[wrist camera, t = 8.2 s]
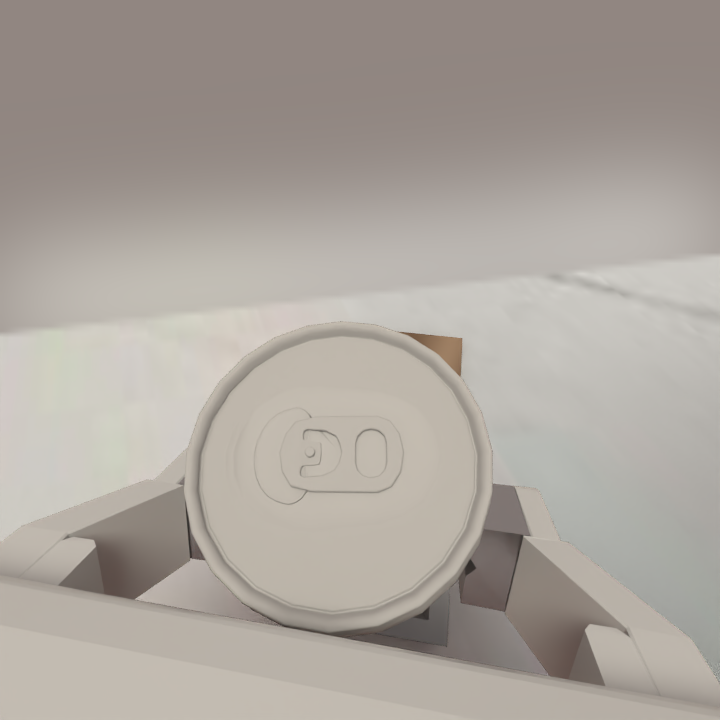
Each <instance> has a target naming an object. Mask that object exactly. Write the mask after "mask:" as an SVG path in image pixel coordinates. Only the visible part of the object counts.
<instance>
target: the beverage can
mask: <svg viewBox="0 0 720 720" xmlns="http://www.w3.org/2000/svg"><path fill="white" fill-rule="evenodd" d="M492 471H493V451H492V447H491V444H490V440H489V436H488V433H487V429H486V425H485V422H484V418H483V414H482V412H481V410H480V408H479V407H478V405H477V403H476V401H475V400H474V398H473V396H472V394H471V393H470V391H469V389H468V387H467V386H466V384H465V382H464V380H463V379H462V378H461V377H460V376H459V375H458V374H457V373H456V372H455V371H454V370H453V369H452V368H451V367H450V366H449V365H448V364H447V363H446V362H445V361H444V360H443V359H442V358H441V357H440V356H439V355H438V354H437V353H435V352H434V351H432V350H431V349H429V348H427V347H426V346H424V345H423V344H421V343H419V342H418V341H416V340H415V339H413V338H411V337H410V336H408V335H405V334H402V333H399V332H396V331H393V330H390V329H387V328H384V327H381V326H378V325H374V324H364V323H354V322H343V321H340V322H332V323H325V324H317V325H309V326H305V327H303V328H300V329H297V330H294V331H291V332H289V333H286V334H283V335H280V336H277V337H275V338H273V339H272V340H270V341H268V342H267V343H265V344H264V345H262V346H261V347H259V348H257V349H256V350H254V351H253V352H251V353H250V354H248V355H246V356H245V357H244V358H243V359H242V360H241V361H240V362H239V363H238V364H237V365H236V366H235V367H234V368H233V369H232V370H231V371H230V372H229V373H228V374H227V375H226V376H225V377H224V378H223V379H222V380H221V381H220V382H219V383H218V385H217V386H216V388H215V389H214V391H213V393H212V394H211V396H210V397H209V399H208V401H207V402H206V404H205V405H204V407H203V409H202V410H201V412H200V414H199V416H198V419H197V422H196V425H195V428H194V431H193V434H192V437H191V440H190V443H189V446H188V449H187V452H186V466H185V480H184V496H185V501H186V507H187V512H188V517H189V522H190V527H191V532H192V535H193V537H194V539H195V541H196V542H197V544H198V546H199V548H200V550H201V552H202V554H203V556H204V558H205V560H206V562H207V564H208V566H209V568H210V570H211V571H212V572H213V573H214V575H215V576H216V577H217V578H218V579H219V580H220V581H221V582H222V583H223V584H224V585H225V586H226V587H227V588H228V589H229V590H230V591H231V592H232V593H233V594H234V595H235V596H236V597H237V598H238V599H239V600H240V601H241V602H242V603H243V604H244V605H246V606H248V607H250V608H251V609H252V610H253V611H255V612H257V613H259V614H261V615H263V616H265V617H267V618H268V619H270V620H272V621H274V622H276V623H278V624H280V625H282V626H284V627H286V628H292V629H297V630H302V631H308V632H313V633H319V634H324V635H330V636H335V637H341V638H343V637H350V636H357V635H364V634H371V633H379V632H382V631H385V630H387V629H389V628H391V627H393V626H395V625H397V624H399V623H402V622H404V621H406V620H408V619H410V618H412V617H414V616H417V615H419V614H421V613H423V612H424V611H425V610H426V609H427V608H428V607H429V606H430V605H432V604H433V603H434V602H435V601H436V600H437V599H438V598H439V597H440V596H441V595H442V594H444V593H445V592H446V591H447V590H448V589H449V588H450V587H451V586H452V585H453V584H455V583H456V581H457V580H458V578H459V577H460V575H461V573H462V572H463V570H464V568H465V567H466V565H467V564H468V562H469V560H470V559H471V557H472V555H473V554H474V552H475V551H476V549H477V547H478V546H479V544H480V540H481V536H482V533H483V529H484V525H485V522H486V518H487V515H488V511H489V507H490V504H491V496H492Z"/></svg>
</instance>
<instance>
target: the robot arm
mask: <svg viewBox="0 0 720 720" xmlns="http://www.w3.org/2000/svg"><path fill="white" fill-rule="evenodd" d="M187 449H188V448H187ZM187 449H186V450H184V451H183V452H182V453H181V454H180V455H179V456H178V457H177V458H176V459H175V460H174V461H173V462H172V463H171V464H170V465H169V466H168V467H167V468H166V469H165V470H164V471H163V472H162V473H161V474H160V475H159V476H158V477H157V478H156V479H155V480H154V481H153V480H144V481H142V482H139V483H136V484H134V485H131V486H128V487H126V488H123V489H120V490H117V491H115V492H112V493H109V494H107V495H104V496H101V497H99V498H96V499H93V500H91V501H88V502H85V503H82V504H80V505H77V506H74V507H72V508H69V509H66V510H64V511H61V512H58V513H55V514H53V515H50V516H47V517H45V518H42V519H39V520H37V521H34V522H31V523H28V524H26V525H23V526H21V527H20V528H19V529H17V530H16V531H15V532H13V533H12V534H11V535H9V536H8V537H7V538H6V539H4V540H3V541H2V542H0V720H720V683H719V682H718V680H717V678H716V677H715V675H714V674H713V672H712V671H711V669H710V667H709V666H708V664H707V663H706V661H705V659H704V658H703V656H702V655H701V653H700V652H699V650H698V648H697V647H696V645H695V644H694V642H693V641H692V639H691V638H689V637H688V636H687V635H686V634H684V633H683V632H682V631H680V630H679V629H678V628H677V627H675V626H674V625H673V624H672V623H670V622H669V621H668V620H666V619H665V618H664V617H663V616H661V615H660V614H659V613H658V612H656V611H655V610H654V609H653V608H651V607H650V606H649V605H647V604H646V603H645V602H644V601H642V600H641V599H640V598H639V597H637V596H636V595H635V594H634V593H632V592H631V591H630V590H628V589H627V588H626V587H625V586H623V585H622V584H621V583H620V582H618V581H617V580H616V579H614V578H613V577H612V576H611V575H609V574H608V573H607V572H606V571H604V570H603V569H602V568H601V567H599V566H598V565H597V564H595V563H594V562H593V561H592V560H590V559H589V558H588V557H587V556H585V555H584V554H583V553H581V552H580V551H579V550H578V549H576V548H575V547H574V546H573V545H571V544H570V543H569V542H563V541H561V540H560V538H559V535H558V533H557V531H556V528H555V526H554V524H553V521H552V519H551V517H550V515H549V512H548V510H547V508H546V505H545V503H544V501H543V498H542V496H541V494H540V491H539V490H538V489H536V488H530V487H520V486H508V485H499V484H492V496H491V504H490V507H489V511H488V515H487V518H486V522H485V525H484V529H483V533H482V536H481V540H480V544H479V546H478V547H477V549H476V551H475V552H474V554H473V555H472V557H471V559H470V560H469V562H468V564H467V565H466V567H465V568H464V570H463V572H462V573H461V575H460V577H459V578H458V579H459V589H460V598H461V603H464V604H469V605H474V606H479V607H484V608H489V609H494V610H499V611H504V612H505V615H506V616H507V617H508V619H509V620H510V622H511V623H512V624H513V626H514V627H515V628H516V630H517V631H518V633H519V634H520V635H521V637H522V638H523V639H524V641H525V642H526V644H527V645H528V646H529V648H530V649H531V651H532V652H533V653H534V655H535V656H536V657H537V659H538V660H539V662H540V663H541V664H542V666H543V667H544V668H545V670H546V671H547V673H548V674H549V675H550V676H546V675H541V674H535V673H530V672H525V671H519V670H514V669H508V668H503V667H498V666H492V665H487V664H481V663H476V662H471V661H465V660H460V659H454V658H449V657H444V656H438V655H433V654H428V653H422V652H417V651H411V650H406V649H401V648H395V647H390V646H384V645H379V644H374V643H368V642H363V641H357V640H352V639H346V638H341V637H335V636H330V635H324V634H319V633H313V632H308V631H302V630H297V629H292V628H286V627H281V626H275V625H270V624H264V623H259V622H253V621H248V620H242V619H237V618H231V617H226V616H220V615H215V614H209V613H204V612H198V611H193V610H187V609H182V608H177V607H171V606H166V605H160V604H155V603H149V602H144V601H139V600H134V599H136V598H137V597H138V596H140V595H141V594H143V593H144V592H146V591H147V590H149V589H150V588H151V587H153V586H154V585H156V584H157V583H159V582H160V581H161V580H163V579H164V578H166V577H167V576H169V575H170V574H172V573H173V572H174V571H176V570H177V569H179V568H180V567H182V566H183V565H185V564H186V563H187V562H189V561H190V558H192V559H199V560H205V558H204V556H203V554H202V552H201V550H200V548H199V546H198V544H197V542H196V541H195V539H194V537H193V535H192V532H191V527H190V522H189V517H188V512H187V507H186V501H185V496H184V480H185V466H186V452H187Z"/></svg>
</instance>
